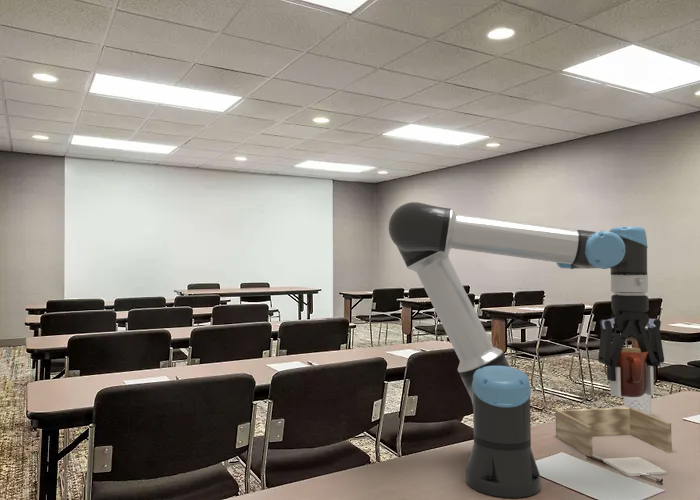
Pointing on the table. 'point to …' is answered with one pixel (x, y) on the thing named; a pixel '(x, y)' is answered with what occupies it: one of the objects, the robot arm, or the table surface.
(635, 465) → the coaster
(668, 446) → the bay
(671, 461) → the table surface
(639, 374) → the mug
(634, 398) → the white cup
